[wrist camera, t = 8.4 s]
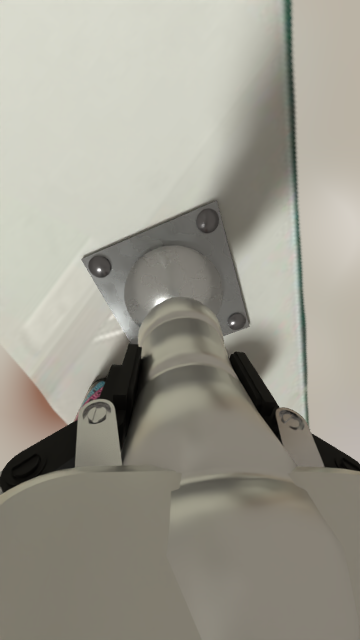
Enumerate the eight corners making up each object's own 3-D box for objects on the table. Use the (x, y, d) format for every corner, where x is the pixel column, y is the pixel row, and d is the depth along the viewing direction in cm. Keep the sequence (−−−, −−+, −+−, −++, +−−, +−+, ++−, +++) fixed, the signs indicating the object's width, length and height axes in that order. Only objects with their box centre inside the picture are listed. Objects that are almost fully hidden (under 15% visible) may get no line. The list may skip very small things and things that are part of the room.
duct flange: (82, 258, 22) (78, 259, 22) (215, 200, 21) (218, 199, 20) (143, 363, 29) (143, 367, 28) (248, 325, 28) (251, 328, 27)
